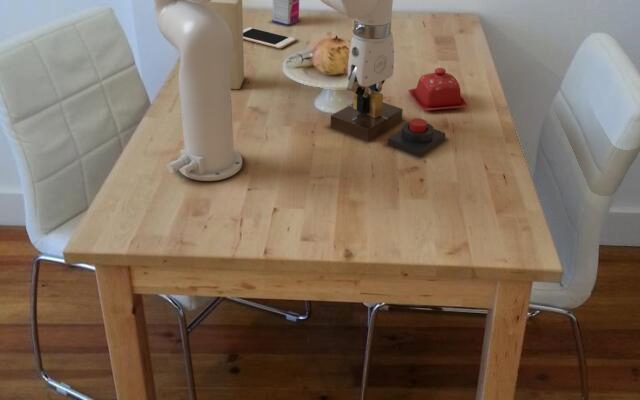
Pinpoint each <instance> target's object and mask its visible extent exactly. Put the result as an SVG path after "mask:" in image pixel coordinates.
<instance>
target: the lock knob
mask: <svg viewBox="0 0 640 400" xmlns="http://www.w3.org/2000/svg"><path fill="white" fill-rule="evenodd" d="M361 88H362V89H363V87H362V86H361ZM368 97H370V106H369V113H368V114H367V115H369V116H371V117H373V118H376V117H379V116H381V115H382V102H384V101H383V100H384V99H383V98H384V94H383V93H382V92H377V91H374V90H372V89H370V88H369V92H368ZM352 104H353V109H355V110H357V94H355V92H354V91H353V101H352Z"/></svg>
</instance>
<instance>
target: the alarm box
mask: <svg viewBox="0 0 640 400" xmlns="http://www.w3.org/2000/svg"><path fill="white" fill-rule="evenodd" d="M409 125H410V121H406V122H405V123H403V124H402V127H401V129H400V130H399V131H397V132H396V133H394V134H392V135H391V136H390V137H388V138H387V146H389V147H391V148H395V149H396V150H399V151H402V152H405V153H408V154H410V155H412V156H415V157H418V158H421V157H423V156H425V154H427V153H429V152H430V151H432V150H433V149H434V148H436V147H438V145H440V144H441V143H443V142H444V141H445V140H446V133H447V132H444V131H441V130H438V129H436V128H434V126H432V124H431V123H428V122H427V129H426V132H421V133H417V132H413V131H410V130H409Z"/></svg>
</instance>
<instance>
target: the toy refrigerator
mask: <svg viewBox="0 0 640 400" xmlns="http://www.w3.org/2000/svg"><path fill="white" fill-rule="evenodd" d="M204 5H206V6H207V7H209V8H210V9H212V10H213V11H215V12H216V13H218V14H219V15H220V16H221V17H222V18H223V19H224V20H225V21H226V23H227V24H228V26H229V28H230V30H231V33H232V37H233V49H232V57H231V66H230V84H231V90H240V89H241V86H242V84H243V83H244V80H245V60H244V59H245V58H244V55H245V54H244V39H243V30H244V22H243V21H244V17H243V0H211V1H209V2H207V3H204Z"/></svg>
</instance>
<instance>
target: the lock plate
mask: <svg viewBox="0 0 640 400" xmlns="http://www.w3.org/2000/svg"><path fill="white" fill-rule="evenodd" d="M403 111H404V110H403V108H402V107H398V106H395V105H392V104H389V103H386V102H384V101H383V102H382V115H381V116H379V117H376V118H373V117H371V116H369V115H367V114H364V113H362V112H360V111H358V110H355V109H353V103H351V104H346V107H343V108H342V109H340V110H338V111H336V112H335V113H333V114H331V115H330V129H333V130H336V131H338V132H341V133H343V134H346V135H349V136H351V137H353V138H356V139H358V140H359V139H360V140H362V141H364V142H367V143H368V142H370V141H372V140H374V139H375V138H376V137H378V136H380V135H382V134H383V133H385V132H386V131H388V130H389V129H391V128H393V127H394V126H396V125H397V124H399V123H401V122H402V120H403V119H402V118H403Z"/></svg>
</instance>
